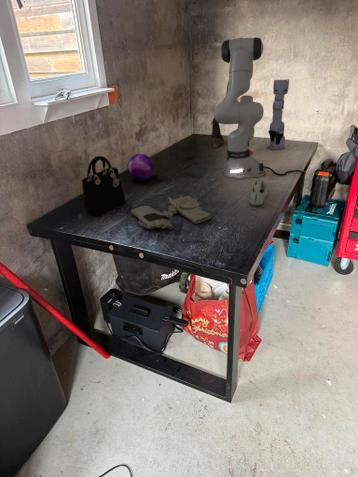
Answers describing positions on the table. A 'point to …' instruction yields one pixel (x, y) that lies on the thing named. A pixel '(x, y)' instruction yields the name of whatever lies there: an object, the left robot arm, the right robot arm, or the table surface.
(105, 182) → the handbag
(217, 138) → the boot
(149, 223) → the pair of gloves
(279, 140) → the right robot arm
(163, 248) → the table surface
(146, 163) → the decorative orb
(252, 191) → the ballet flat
